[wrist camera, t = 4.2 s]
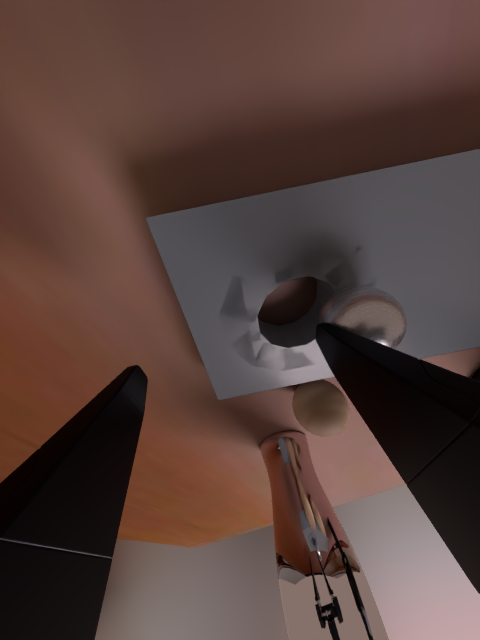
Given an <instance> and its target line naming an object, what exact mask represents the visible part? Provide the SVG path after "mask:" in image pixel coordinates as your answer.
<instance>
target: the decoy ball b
mask: <svg viewBox="0 0 480 640" xmlns="http://www.w3.org/2000/svg"><path fill="white" fill-rule="evenodd" d="M292 406H293V411H294V414H295V416H296V419H297V420H298V422H299V423H300V424H301V426H303V427H304V428H305V429H306V430H307V431H309V432H310V433H312V434H314V435H317V436H321V437H330V436H334V435H336V434H338V433H340V432H341V431H342V430H343V429H344V428H345V426H346V425H347V422H348V419H349V406H348V403H347V400H346V398H345V396H344V395H343V393H342V392H341V391H340V390H339V389H338V388H337V387H336V386H335V385H333V384H332V383H330V382H328V381H325V380H321V379H320V380H315V381H310V382H305V383H302V384H300V385H299V386H298V387H297V389H296V390H295V392H294V395H293V400H292Z"/></svg>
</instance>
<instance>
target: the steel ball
mask: <svg viewBox="0 0 480 640" xmlns="http://www.w3.org/2000/svg"><path fill="white" fill-rule="evenodd" d="M324 322H328V323H330V324H333V325H335V326H338V327H340V328H343V329H345V330H348V331H350V332H353V333H355V334H358V335H360V336H363V337H365V338H368V339H370V340H373V341H375V342H378V343H381V344H383V345H386V346H388V347H391V348H393V349H395V348H396V347H397V346H398V345H399V344H400V343H401V341H402V340H403V338H404V336H405V333H406V330H407V318H406V314H405V311H404V309H403V307H402V305H401V304H400V303H399V301H398V300H397V299H396V298H395V297H393V296H392V295H391V294H389V293H388V292H386V291H384V290H382V289H379V288H376V287H371V286H353V287H348V288H345V289H342V290H340V291H338V292H336V293H335V294H333V295H332V296H331V297H330V298H329V299H328V300H327V301H326V302H325V303H324V304H323V306H322V308H321V310H320V312H319V316H318V324H319V323H324Z"/></svg>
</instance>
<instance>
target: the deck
mask: <svg viewBox="0 0 480 640" xmlns="http://www.w3.org/2000/svg"><path fill="white" fill-rule="evenodd" d="M146 221H147V223H148V226H149V228H150V231H151V233H152V236H153V238H154V241H155V243H156V246H157V248H158V251H159V253H160V256H161V258H162V261H163V263H164V266H165V268H166V271H167V273H168V276H169V278H170V281H171V283H172V286H173V288H174V291H175V293H176V296H177V298H178V301H179V303H180V306H181V308H182V311H183V313H184V316H185V318H186V321H187V323H188V326H189V328H190V331H191V333H192V336H193V338H194V341H195V343H196V346H197V348H198V351H199V353H200V356H201V358H202V361H203V363H204V366H205V368H206V371H207V373H208V376H209V378H210V381H211V383H212V386H213V388H214V391H215V393H216V396H217V398H218V400H222V399H227V398H232V397H237V396H242V395H247V394H252V393H256V392H261V391H266V390H271V389H276V388H281V387H286V386H291V385H296V384H300V383H305V382H310V381H315V380H320V379H325V378H330V377H335V376H334V374H333V373H332V371H331V369H330V368H329V366H328V364H327V362H326V360H325V358H324V356H323V354H322V352H321V350H320V348H319V346H318V344H317V342H316V326H317V324H318V316H319V312H320V310H321V308H322V306H323V304H324V303H325V302H326V301H327V300H328V299H329V298H330V297H331V296H332V295H333V294H335V293H336V292H338V291H340V290H342V289H345V288H348V287H353V286H371V287H376V288H379V289H382V290H384V291H386V292H388V293H389V294H391V295H392V296H393V297H395V298H396V299H397V300H398V301H399V303H400V304H401V305H402V307H403V309H404V311H405V314H406V318H407V330H406V333H405V336H404V338H403V340H402V341H401V343H400V344H399V345H398V346H397V347H396V348H395V349H396V350H398V351H401V352H403V353H406V354H408V355H411V356H413V357H416V358H418V359H423V358H428V357H432V356H437V355H442V354H447V353H452V352H457V351H462V350H467V349H472V348H476V347H480V149H476V150H471V151H467V152H462V153H457V154H452V155H447V156H442V157H437V158H433V159H428V160H423V161H418V162H413V163H408V164H404V165H399V166H394V167H389V168H384V169H379V170H374V171H370V172H365V173H360V174H355V175H350V176H345V177H341V178H336V179H331V180H326V181H321V182H316V183H312V184H307V185H302V186H297V187H292V188H287V189H282V190H278V191H273V192H268V193H263V194H258V195H253V196H249V197H244V198H239V199H234V200H229V201H224V202H219V203H215V204H210V205H205V206H200V207H195V208H190V209H186V210H181V211H176V212H171V213H166V214H161V215H157V216H152V217H147V218H146ZM307 276H311V277H314V278H315V279H316V281H317V294H316V300H315V301H314V303H313V305H312V306H311V308H310V309H309V311H308V313H306V314H305V315H304V316H302V317H301V318H299V319H298V320H296V321H295V322H293V323H289V324H284V325H279V326H276V325H272V324H268V323H264V322H262V321H261V320H260V319H259V318H258V316H257V315H258V313H259V311H260V309H261V307H262V304H263V302H264V300H265V298H266V296H267V295H268V294H270V293H271V292H272V291H274V290H275V289H276V288H277V287H279V286H280V285H281V284H283V283H284V282H285V281H288V280H293V279H298V278H303V277H307Z"/></svg>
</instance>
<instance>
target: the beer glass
mask: <svg viewBox="0 0 480 640" xmlns="http://www.w3.org/2000/svg"><path fill="white" fill-rule="evenodd" d="M260 450H261V454H262V457H263V460H264V463H265V466H266V469H267V472H268V476H269V481H270V487H271V495H272V508H273V525H274V541H275V552H276V563H277V573H278V579H279V587H280V594H281V601H282V606H283V611H284V617H285V623H286V628H287V634H288V639H289V640H389V639H388V636H387V633H386V631H385V628H384V625H383V622H382V619H381V616H380V614H379V611H378V609H377V606H376V603H375V601H374V598H373V595H372V593H371V590H370V587H369V585H368V582H367V580H366V577H365V575H364V573H363V570H362V568H361V565H360V563H359V561H358V558H357V556H356V554H355V552H354V549H353V547H352V545H351V543H350V541H349V539H348V537H347V535H346V533H345V531H344V529H343V527H342V525H341V523H340V521H339V519H338V517H337V515H336V513H335V511H334V509H333V507H332V505H331V504H330V502H329V500H328V498H327V496H326V494H325V492H324V490H323V488H322V486H321V484H320V482H319V480H318V477H317V475H316V472H315V470H314V467H313V464H312V460H311V456H310V451H309V446H308V442H307V439H306V437H305V435H304V434H302V433H300V432H297V431H284V432H279V433H276V434H273V435H271V436H269V437H267V438H266V439H265V440H264V441H263V442H262V443H261V445H260Z"/></svg>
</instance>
